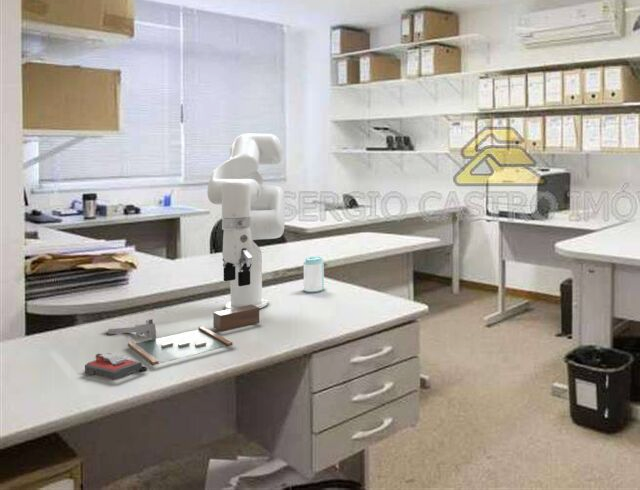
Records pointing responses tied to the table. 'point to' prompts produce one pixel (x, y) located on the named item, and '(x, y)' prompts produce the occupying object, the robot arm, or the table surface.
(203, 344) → the chalk mark
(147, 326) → the caliper
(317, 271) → the can
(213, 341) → the chalkboard
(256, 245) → the robot arm
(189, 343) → the chalk mark
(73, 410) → the table surface
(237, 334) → the table surface
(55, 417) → the table surface
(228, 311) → the eraser
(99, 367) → the toy chainsaw
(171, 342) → the chalk mark
